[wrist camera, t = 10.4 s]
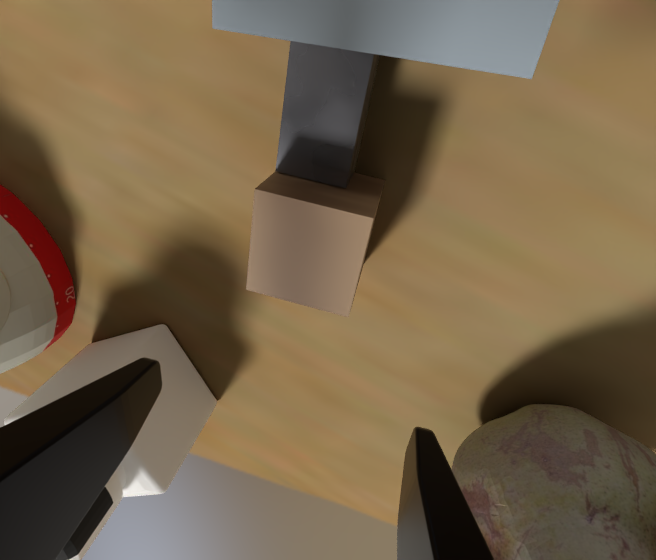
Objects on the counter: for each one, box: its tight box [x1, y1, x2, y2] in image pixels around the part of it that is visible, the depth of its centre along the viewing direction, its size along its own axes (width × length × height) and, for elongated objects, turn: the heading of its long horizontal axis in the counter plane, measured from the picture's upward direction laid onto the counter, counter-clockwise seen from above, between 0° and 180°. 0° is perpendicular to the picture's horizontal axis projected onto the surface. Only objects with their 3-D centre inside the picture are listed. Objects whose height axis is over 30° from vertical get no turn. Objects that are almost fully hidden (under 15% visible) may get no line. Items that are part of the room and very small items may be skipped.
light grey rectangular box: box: [4, 324, 217, 560], centre depth 24 cm, size 7×7×12 cm
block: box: [246, 171, 385, 317], centre depth 18 cm, size 4×4×5 cm
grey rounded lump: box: [452, 404, 656, 560], centre depth 19 cm, size 10×9×12 cm
